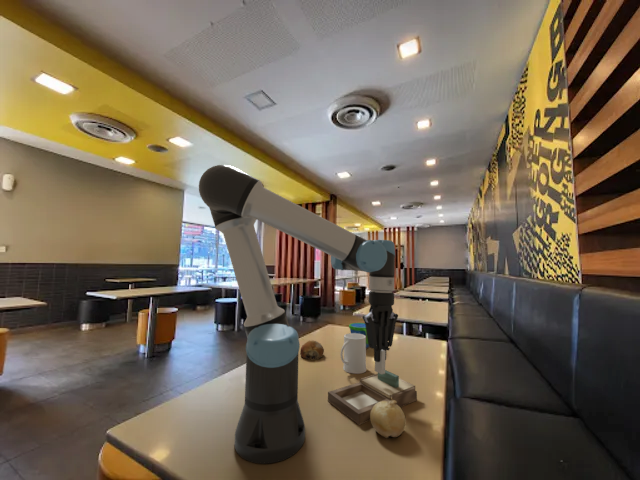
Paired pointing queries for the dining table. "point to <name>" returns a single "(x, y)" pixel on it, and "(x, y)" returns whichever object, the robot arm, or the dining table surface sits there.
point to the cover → (387, 384)
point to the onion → (387, 418)
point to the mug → (354, 353)
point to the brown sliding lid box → (365, 400)
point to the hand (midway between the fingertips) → (379, 372)
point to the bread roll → (312, 350)
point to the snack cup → (359, 330)
